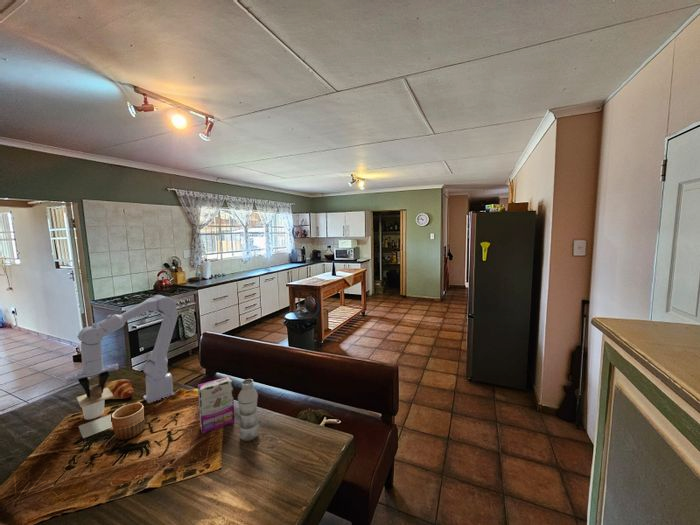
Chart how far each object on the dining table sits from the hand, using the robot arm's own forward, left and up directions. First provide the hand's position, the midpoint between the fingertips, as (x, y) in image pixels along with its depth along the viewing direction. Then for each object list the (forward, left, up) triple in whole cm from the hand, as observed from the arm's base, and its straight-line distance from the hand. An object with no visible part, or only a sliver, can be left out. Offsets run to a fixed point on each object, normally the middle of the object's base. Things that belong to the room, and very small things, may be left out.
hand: (94, 394), depth 106 cm
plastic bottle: (-32, +52, -11) cm, 62 cm away
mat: (0, +5, -10) cm, 11 cm away
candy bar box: (-28, +37, -11) cm, 48 cm away
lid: (0, 0, -1) cm, 1 cm away
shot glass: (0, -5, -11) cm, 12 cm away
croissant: (-10, -18, -11) cm, 23 cm away
